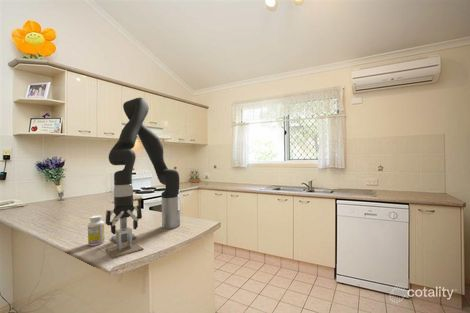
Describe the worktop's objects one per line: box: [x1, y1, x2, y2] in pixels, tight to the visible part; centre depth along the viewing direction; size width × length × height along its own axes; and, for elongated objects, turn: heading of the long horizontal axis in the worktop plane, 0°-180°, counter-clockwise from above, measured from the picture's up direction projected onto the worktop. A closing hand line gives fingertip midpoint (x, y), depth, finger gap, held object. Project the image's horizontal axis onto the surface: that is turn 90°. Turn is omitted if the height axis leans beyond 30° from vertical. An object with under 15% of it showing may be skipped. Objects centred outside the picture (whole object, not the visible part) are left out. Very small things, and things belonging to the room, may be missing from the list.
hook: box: [115, 226, 133, 251], centre depth 100 cm, size 5×4×8 cm
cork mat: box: [105, 240, 144, 259], centre depth 99 cm, size 12×12×1 cm
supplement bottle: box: [87, 214, 105, 247], centre depth 108 cm, size 7×7×13 cm
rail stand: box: [110, 218, 137, 244], centre depth 111 cm, size 9×16×20 cm, turn 42°
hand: (124, 231), depth 100 cm, fingers open, 8 cm apart
